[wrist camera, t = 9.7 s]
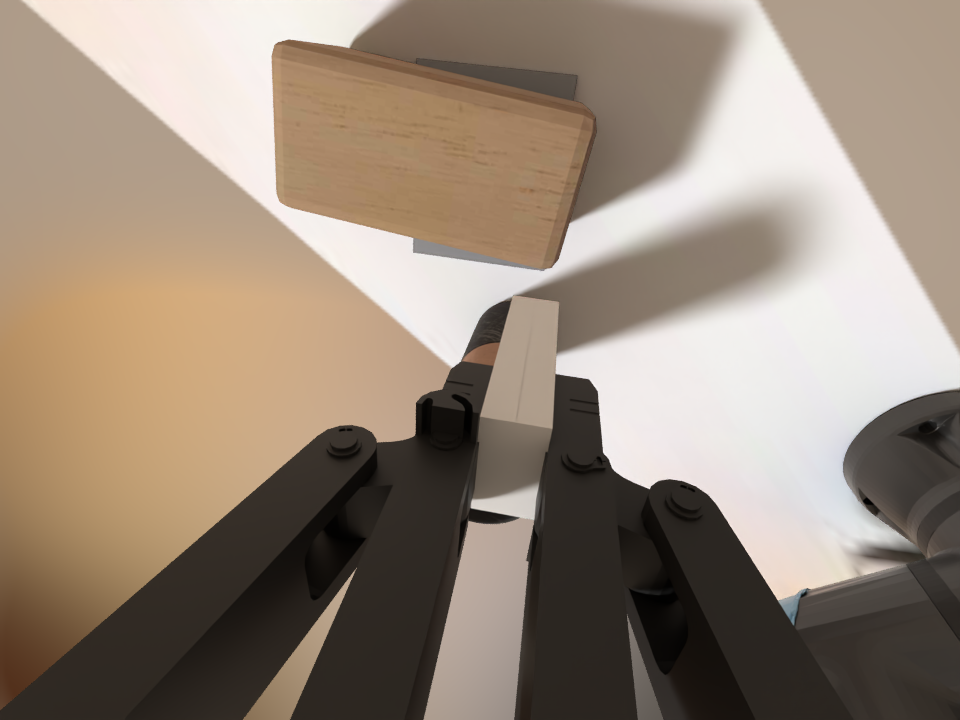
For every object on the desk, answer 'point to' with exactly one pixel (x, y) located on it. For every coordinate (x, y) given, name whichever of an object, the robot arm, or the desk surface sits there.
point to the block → (427, 151)
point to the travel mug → (485, 352)
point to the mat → (516, 78)
